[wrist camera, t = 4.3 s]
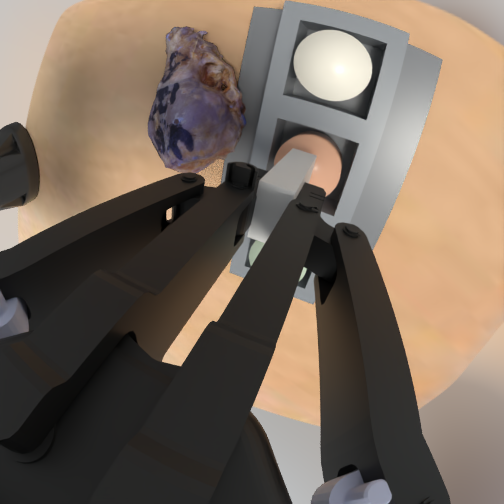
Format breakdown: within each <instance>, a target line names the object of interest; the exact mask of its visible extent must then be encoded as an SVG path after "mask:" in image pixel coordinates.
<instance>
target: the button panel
mask: <svg viewBox="0 0 504 504" xmlns="http://www.w3.org/2000/svg"><path fill="white" fill-rule="evenodd" d="M322 30H337V31H341V32H344V33H347V34H349V35H351V36H353V37H354V38H356V39H357V40H358V41H359V42H360V43H361V44H362V45H363V46H364V47H365V48H366V50H367V52H368V53H369V56H370V58H371V62H372V75H371V79H370V81H369V83H368V85H367V87H366V88H365V89H364V90H363V91H362V92H361V93H360V94H358V95H357V96H355V97H353V98H351V99H348V100H344V101H329V100H325V99H322V98H319V97H317V96H315V95H313V94H312V93H310V92H309V91H308V90H306V89H305V88H304V86H303V85H302V84H301V83H300V81H299V80H298V78H297V76H296V73H295V70H294V55H295V52H296V49H297V47H298V46H299V44H300V43H301V42H302V41H303V39H305V38H306V37H307V36H309V35H310V34H312V33H315V32H318V31H322ZM409 35H410V34H409V33H407V32H404V31H402V30H399V29H397V28H394V27H391V26H389V25H386V24H383V23H380V22H377V21H374V20H371V19H368V18H364V17H361V16H358V15H354V14H350V13H347V12H343V11H339V10H335V9H330V8H326V7H321V6H316V5H311V4H305V3H299V2H292V1H285V3H284V7H283V10H280V9H272V8H263V7H254V10H253V14H252V19H251V23H250V28H249V32H248V37H247V41H246V46H245V51H244V56H243V61H242V66H241V71H240V76H239V81H238V86H237V88H238V90H239V91H241V93H242V102H243V103H244V105H245V107H246V111H245V113H244V117H245V119H246V125H245V127H244V128H243V129H242V135H241V137H240V140H239V142H238V143H237V145H236V147H235V151H234V152H231V153H229V154H228V155H227V157H226V159H225V161H224V167H223V174H222V180H221V184H222V183H223V182H224V181H225V176H226V170H227V164H228V163H229V162H245V163H249V164H252V165H254V166H256V167H257V168H259V169H263V170H266V171H270V170H271V169H272V168H273V167H274V160H275V156H276V154H277V152H278V150H279V148H280V147H281V146H282V145H283V144H284V143H285V142H286V141H288V140H289V139H291V138H292V137H294V136H295V135H297V134H299V133H302V132H306V131H316V132H320V133H323V134H325V135H327V136H328V137H330V138H331V139H332V140H333V141H334V142H335V143H336V144H337V146H338V147H339V149H340V151H341V155H342V162H343V164H342V170H341V175H340V179H339V182H338V184H337V186H336V188H335V189H334V190H333V191H332V192H331V193H330V194H329V195H327V196H326V197H325V199H324V203H323V206H322V210H321V215H320V216H321V218H322V219H323V220H324V221H325V222H326V223H327V224H329V225H330V226H332V227H335V225H336V224H337V223H341V222H344V223H349V224H354V225H356V226H357V227H359V228H360V229H361V230H362V231H363V232H364V233H365V234H366V236H367V238H368V241H369V243H370V246H371V249H372V250H373V248H374V246H375V244H376V242H377V240H378V238H379V236H380V234H381V232H382V230H383V228H384V226H385V223H386V221H387V219H388V217H389V215H390V212H391V210H392V208H393V206H394V203H395V201H396V199H397V196H398V194H399V192H400V189H401V187H402V184H403V182H404V179H405V177H406V174H407V172H408V169H409V167H410V164H411V161H412V159H413V156H414V153H415V151H416V148H417V145H418V142H419V139H420V137H421V134H422V131H423V128H424V125H425V122H426V118H427V115H428V112H429V109H430V105H431V102H432V99H433V95H434V92H435V88H436V84H437V80H438V77H439V73H440V69H441V64H442V59H440V58H438V57H436V56H434V55H432V54H430V53H428V52H426V51H424V50H421V49H419V48H417V47H415V46H412V45H410V44H408V40H409ZM248 231H249V228H248V229H247V231H246V233H245V237H244V241H243V243H242V245H241V246H240V247H239V249H238V250H237V252H236V253H235V254H234V256H233V257H232V261H231V267H230V273H233V274H235V275H238V276H240V277H243V278H244V277H245V276H246V274H247V272H248V271H249V269H250V267H251V265H250V261H249V252H250V249H251V247H252V245H253V244H254V242H255V241H256V240H255V239H252V238H249V237H247V236H248ZM314 276H315V274H314V273H313V272H311V271H310V270H308V269H307V270H306V273H305V275H304V277H303V278H302V279H301V280H300V281H299V282H298V285H297V288H296V291H295V294H294V296H293V297H295V298H297V299H300V300H303V301H305V302H308V303H311V304H314V302H315V291H314Z"/></svg>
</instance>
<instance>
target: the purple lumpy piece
mask: <svg viewBox="0 0 504 504" xmlns="http://www.w3.org/2000/svg"><path fill="white" fill-rule="evenodd" d="M193 30H194V28H190V27H183V28H180V27H174V28H173V29H172V30H171V32H170V33H167V35H166V45H167V48H166V54H167V61H166V68H165V72H164V76H163V78H162V80H161V82H160V83H159V85H158V88H157V94H156V98H155V100H154V103H153V106H152V109H151V112H150V116H149V121H148V134H149V137H150V139H151V141H152V143H153V145H154V147H155V148H156V150H157V152H158V154H159V156H160V158H161V159H162V160H163V162H164V164H165V167H166V168H170V169H173V170H176V171H178V172H181V173H188V172H192V173H197V172H199V171H201V170H203V169H205V168H206V167H207V166H209V165H210V164H211V163H213V162H214V161H215V160H217V159H223V160H224V159H226V157H227V155H228V154H229V153H231V152H234V151H235V147H236V145H237V143H238V142H239V140H240V137H241V135H242V129H243V128H244V127H245V125H246V119H245V117H244V113H245V111H246V107H245V105H244V103H243V102H242V93H241V91H239V90H238V88H237V84H236V79H235V73H234V70H233V68H232V67H231V66H230V65H229V64H227V63H225V61H224V60H223V59H222V57H223V56H222V55H221V54H219V52H218V50H217V47H216V46H215V45H213V43H209V42H207V41H205V40H203V39H202V37H203V34H207V32H206V31H199V32H194V31H193ZM221 84H224V85H225V86H226V87H227V88H226V89H225V90H224V91H222V89H221V87H222V86H221Z"/></svg>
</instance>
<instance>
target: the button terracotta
mask: <svg viewBox="0 0 504 504" xmlns="http://www.w3.org/2000/svg"><path fill="white" fill-rule="evenodd" d="M293 148H294V149H298V150H301V151H304V152H307V153H310V154H314V155H317V157H316V161H315V164H314V167H313V171H312V174H311V178H310V181H309V184H312V185H315V186H318V187H321V188H323V189H324V190H325V192H326V196H327V195H329V194H330V193H331V192H332V191H333V190H334V189H335V188H336V186H337V184H338V182H339V179H340V175H341V170H342V164H343V162H342V155H341V151H340V149H339V147H338V146H337V144H336V143H335V142H334V141H333V140H332V139H331V138H330V137H328V136H327V135H325V134H323V133H320V132H316V131H306V132H302V133H299V134H297V135H295V136H294V137H292V138H291V139H289V140H288V141H286V142H285V143H284V144H283V145H282V146H281V147H280V148H279V150H278V152H277V154H276V156H275V160H274V166H275V165H276V164H277V163H278V162H279V161H280V160H281V159H282V158H283V157H284V156H285V155H286V154H287V153H288V152H290V151H291V150H292V149H293ZM326 196H325V197H326Z"/></svg>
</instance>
